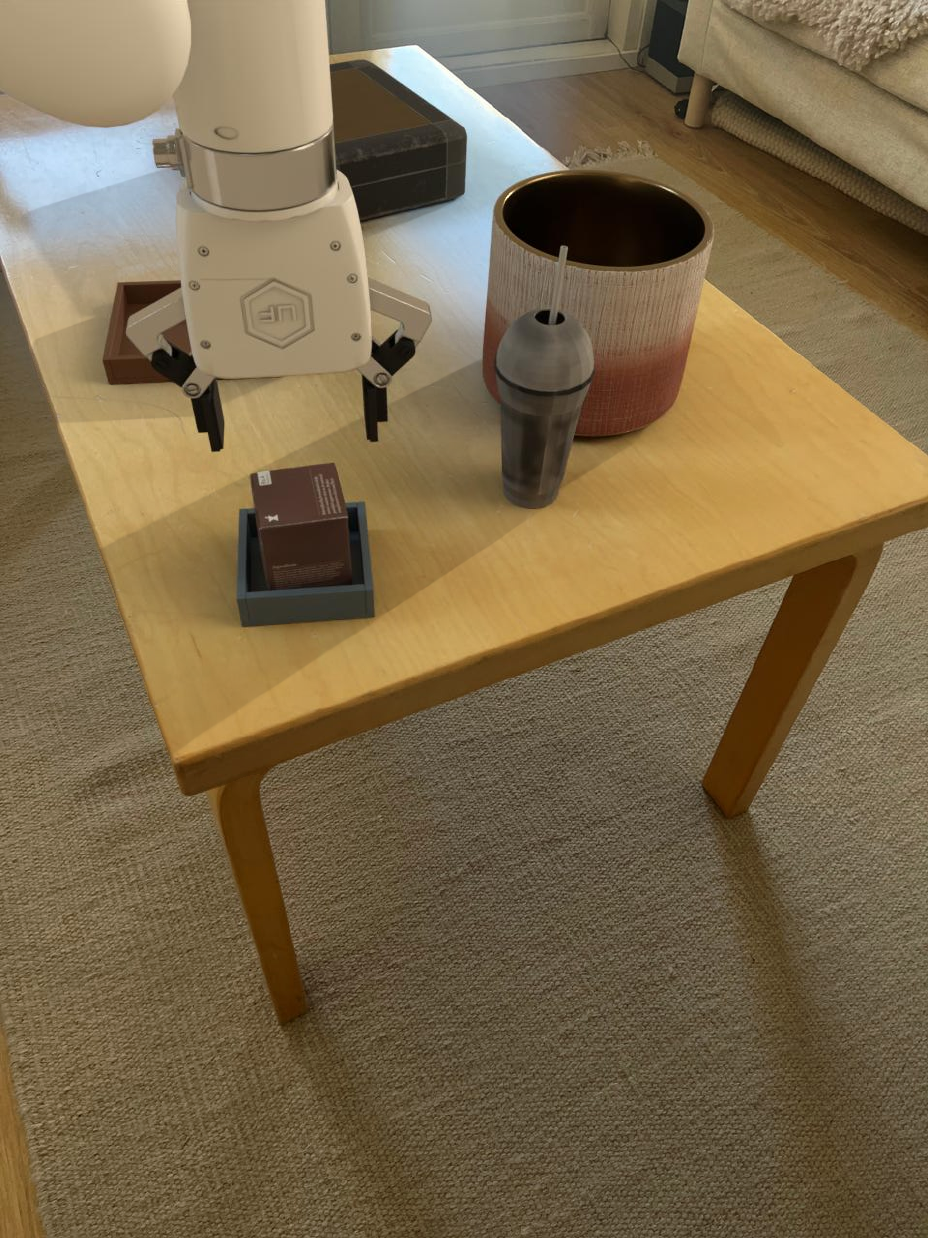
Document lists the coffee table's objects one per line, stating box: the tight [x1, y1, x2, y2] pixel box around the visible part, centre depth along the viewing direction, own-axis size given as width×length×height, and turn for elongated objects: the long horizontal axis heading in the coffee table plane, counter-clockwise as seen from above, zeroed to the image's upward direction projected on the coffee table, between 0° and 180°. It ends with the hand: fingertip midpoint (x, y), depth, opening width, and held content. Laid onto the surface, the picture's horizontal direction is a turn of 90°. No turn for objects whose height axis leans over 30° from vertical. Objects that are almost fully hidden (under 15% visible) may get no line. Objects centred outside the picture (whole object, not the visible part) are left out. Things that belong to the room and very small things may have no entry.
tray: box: [102, 279, 224, 385], centre depth 91 cm, size 15×13×2 cm
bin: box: [236, 501, 376, 627], centre depth 71 cm, size 9×9×3 cm
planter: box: [481, 168, 715, 438], centre depth 84 cm, size 18×18×16 cm
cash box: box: [329, 59, 468, 222], centre depth 115 cm, size 25×20×8 cm
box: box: [249, 462, 353, 591], centre depth 69 cm, size 6×6×7 cm
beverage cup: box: [494, 246, 595, 509], centre depth 72 cm, size 7×7×20 cm
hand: (295, 433), depth 63 cm, fingers open, 9 cm apart
